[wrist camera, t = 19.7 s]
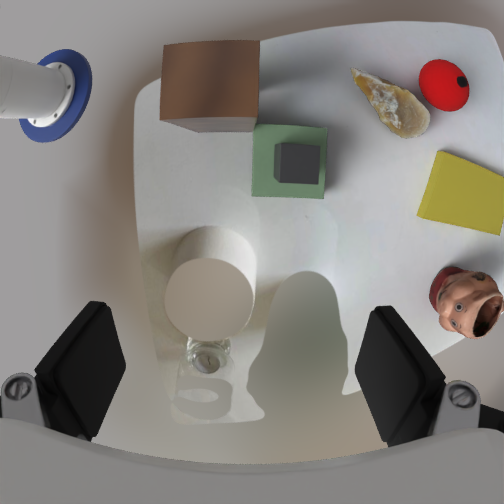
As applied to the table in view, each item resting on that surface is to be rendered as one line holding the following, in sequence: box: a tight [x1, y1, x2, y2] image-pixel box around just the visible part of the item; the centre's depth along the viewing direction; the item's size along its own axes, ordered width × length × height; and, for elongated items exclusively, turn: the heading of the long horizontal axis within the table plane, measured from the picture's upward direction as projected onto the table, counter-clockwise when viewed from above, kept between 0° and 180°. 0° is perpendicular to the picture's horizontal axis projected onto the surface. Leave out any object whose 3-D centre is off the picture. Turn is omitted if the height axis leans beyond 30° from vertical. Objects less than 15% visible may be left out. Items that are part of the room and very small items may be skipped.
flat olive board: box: [417, 151, 504, 236], centre depth 41 cm, size 12×2×24 cm
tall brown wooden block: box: [160, 40, 260, 133], centre depth 28 cm, size 8×7×19 cm
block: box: [273, 143, 320, 185], centre depth 33 cm, size 4×4×7 cm
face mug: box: [429, 267, 504, 339], centre depth 42 cm, size 20×12×14 cm, turn 92°
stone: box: [351, 68, 430, 139], centre depth 34 cm, size 7×6×15 cm
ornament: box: [419, 59, 469, 112], centre depth 30 cm, size 9×9×10 cm
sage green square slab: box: [252, 124, 327, 199], centre depth 38 cm, size 10×10×4 cm
